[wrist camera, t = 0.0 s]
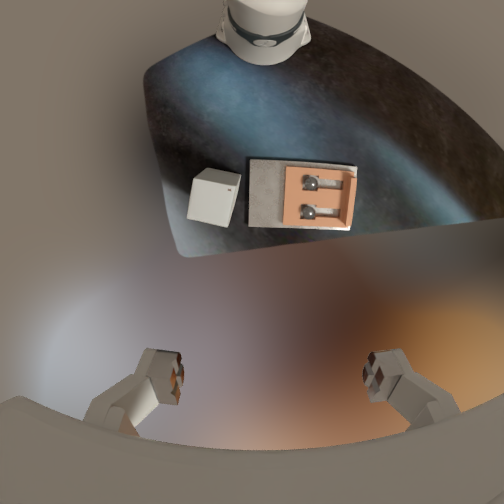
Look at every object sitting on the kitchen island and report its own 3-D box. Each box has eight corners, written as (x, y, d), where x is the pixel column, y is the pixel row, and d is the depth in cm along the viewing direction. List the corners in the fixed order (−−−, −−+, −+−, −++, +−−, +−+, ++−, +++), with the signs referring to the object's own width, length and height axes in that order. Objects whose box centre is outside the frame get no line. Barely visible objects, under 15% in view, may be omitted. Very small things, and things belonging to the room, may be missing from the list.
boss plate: (250, 159, 53) (249, 160, 50) (355, 166, 53) (360, 168, 50) (248, 225, 59) (248, 230, 56) (348, 228, 59) (352, 233, 56)
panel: (285, 166, 52) (287, 167, 50) (352, 171, 52) (357, 173, 50) (282, 223, 57) (283, 228, 55) (346, 226, 57) (350, 230, 55)
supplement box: (206, 166, 54) (193, 176, 42) (242, 174, 54) (238, 185, 43) (199, 200, 57) (185, 218, 45) (233, 208, 57) (228, 228, 46)
